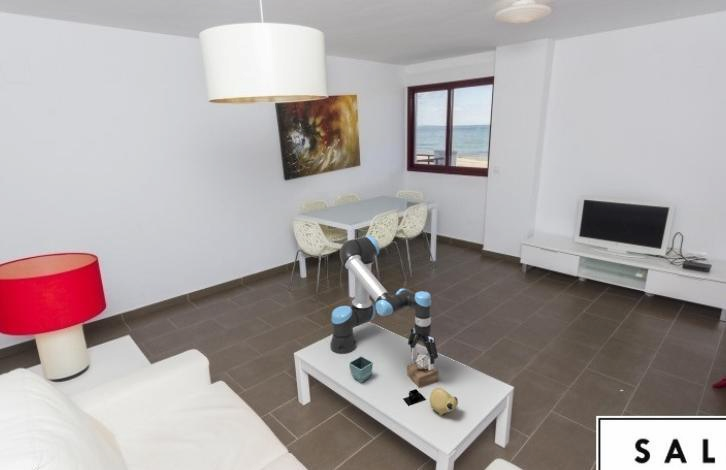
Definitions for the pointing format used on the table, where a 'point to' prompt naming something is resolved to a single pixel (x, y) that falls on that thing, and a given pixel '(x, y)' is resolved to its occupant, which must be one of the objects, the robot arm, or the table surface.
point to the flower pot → (361, 368)
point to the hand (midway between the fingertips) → (422, 363)
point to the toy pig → (442, 401)
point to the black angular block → (414, 397)
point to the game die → (422, 361)
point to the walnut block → (422, 375)
